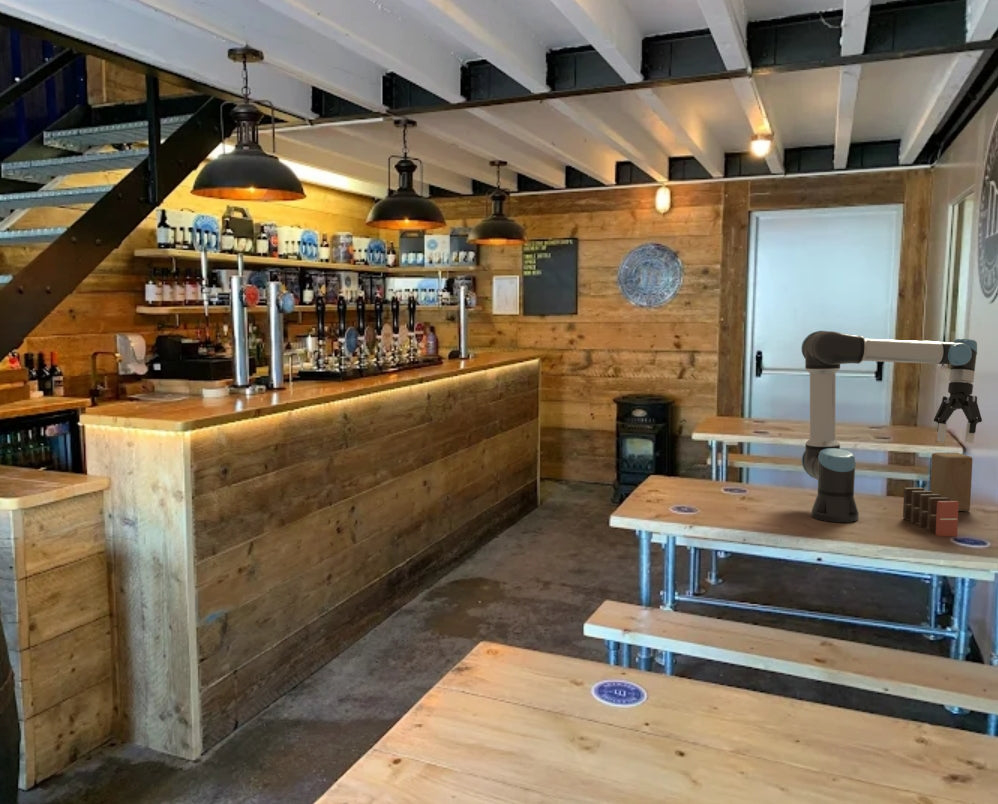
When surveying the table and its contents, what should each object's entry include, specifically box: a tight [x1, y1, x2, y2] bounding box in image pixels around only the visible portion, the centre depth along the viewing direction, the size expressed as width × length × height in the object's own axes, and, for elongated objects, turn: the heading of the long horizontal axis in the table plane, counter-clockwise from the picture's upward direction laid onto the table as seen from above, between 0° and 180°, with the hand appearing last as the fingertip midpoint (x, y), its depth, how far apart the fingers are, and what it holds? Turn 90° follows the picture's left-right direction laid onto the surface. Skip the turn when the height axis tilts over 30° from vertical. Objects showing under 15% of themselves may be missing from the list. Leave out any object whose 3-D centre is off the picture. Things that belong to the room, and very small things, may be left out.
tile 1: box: [902, 487, 925, 521], centre depth 270 cm, size 2×6×11 cm, turn 91°
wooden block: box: [929, 452, 974, 512], centre depth 284 cm, size 10×10×20 cm
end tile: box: [935, 501, 959, 537], centre depth 250 cm, size 2×6×11 cm, turn 91°
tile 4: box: [926, 497, 950, 533], centre depth 255 cm, size 2×6×11 cm, turn 91°
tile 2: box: [910, 490, 932, 524], centre depth 265 cm, size 2×6×11 cm, turn 91°
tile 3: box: [918, 494, 941, 529], centre depth 260 cm, size 2×6×11 cm, turn 91°
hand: (954, 442), depth 278 cm, fingers open, 13 cm apart
